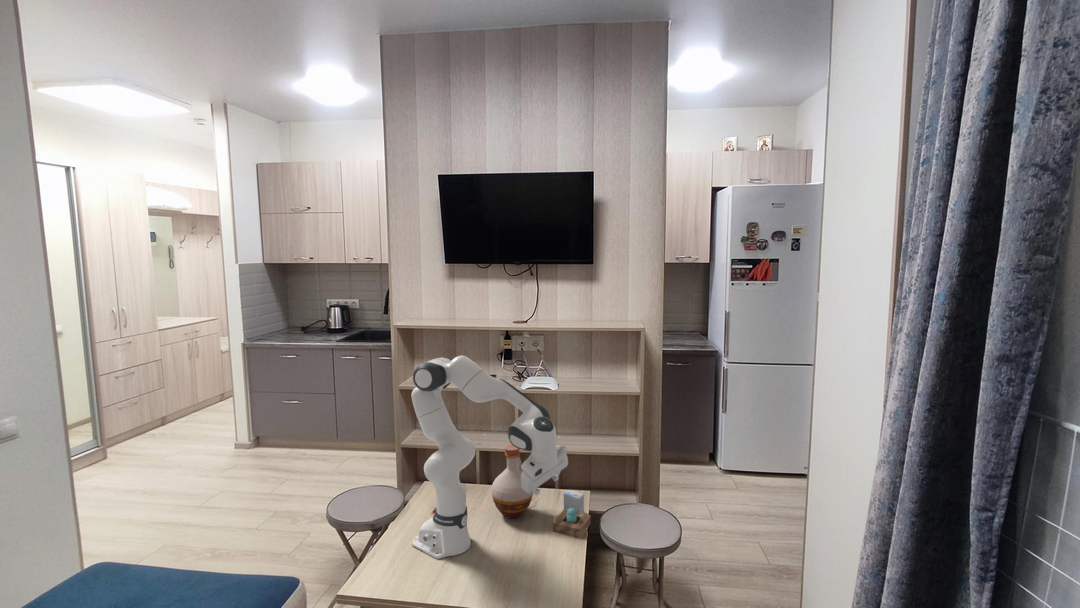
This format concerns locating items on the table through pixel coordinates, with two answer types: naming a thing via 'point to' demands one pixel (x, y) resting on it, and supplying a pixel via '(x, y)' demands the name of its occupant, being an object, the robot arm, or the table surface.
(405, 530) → the table surface
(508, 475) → the jug
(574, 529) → the socket block
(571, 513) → the peg
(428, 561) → the table surface
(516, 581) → the table surface
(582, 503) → the medicine box
